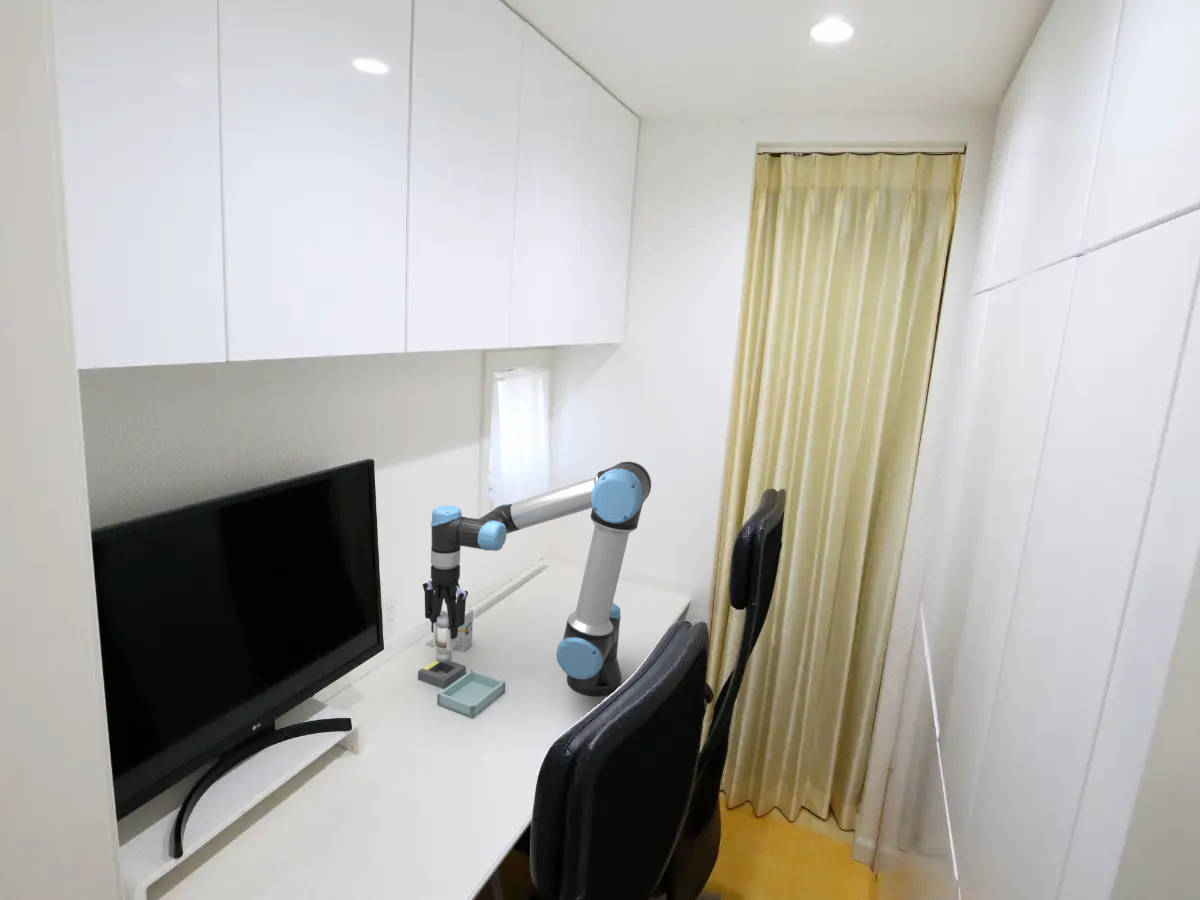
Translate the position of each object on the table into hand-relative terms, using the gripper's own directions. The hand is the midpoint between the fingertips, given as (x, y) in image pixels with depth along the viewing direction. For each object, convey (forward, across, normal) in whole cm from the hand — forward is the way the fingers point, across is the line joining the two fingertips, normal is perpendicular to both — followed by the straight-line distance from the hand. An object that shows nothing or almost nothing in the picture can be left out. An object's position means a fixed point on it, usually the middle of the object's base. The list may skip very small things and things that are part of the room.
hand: (444, 646), depth 179 cm
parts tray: (+9, -12, +4) cm, 16 cm away
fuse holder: (+9, 0, 0) cm, 9 cm away
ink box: (+9, +8, -16) cm, 20 cm away
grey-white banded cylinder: (+4, 0, 0) cm, 4 cm away
